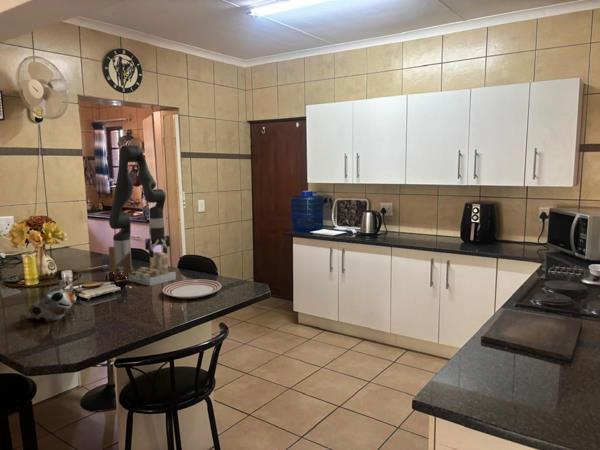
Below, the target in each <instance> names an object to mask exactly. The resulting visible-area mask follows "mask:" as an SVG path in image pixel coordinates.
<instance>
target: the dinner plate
mask: <svg viewBox="0 0 600 450" xmlns="http://www.w3.org/2000/svg"><path fill="white" fill-rule="evenodd" d="M221 288H222V284H221V283H220V282H219V281H216V280H212V279H186V280H181V281H176V282H173V283H170V284H167V285H166V286H164V288H163V289H162V293H163V294H164V295H167V296H171V297H173V298H177V299H189V300H190V299H199V297H200V298H203V297H207V296H210V295H212V294H214V293H216V292H218V291H220V289H221Z"/></svg>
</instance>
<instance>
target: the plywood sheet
mask: <svg viewBox="0 0 600 450" xmlns="http://www.w3.org/2000/svg"><path fill="white" fill-rule="evenodd" d="M153 253H154V257H153V258H151V257H150V256H149V268H152V269H157V270H159V271H160V275H162V274H166V273H168V272H169V263H168V262H169V261H168V253H167V254H165V253H163V252H158V251H154V250H153Z"/></svg>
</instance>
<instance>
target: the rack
mask: <svg viewBox="0 0 600 450" xmlns="http://www.w3.org/2000/svg"><path fill="white" fill-rule="evenodd" d="M136 272H137V270H136V271H133V272H132V271H131V273H128V276H129V279H128V281H129V282H133V283H136V284H137V283H138V284H142V285H146V286H154V285H158V284H162V283H166V282H170V281H174V280H176V279H177V273H176V272H177V271H168V273H166V274H162V275H158V276H154V277H150V278H148V279H147V278H142V277H138V276H135V273H136Z"/></svg>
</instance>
